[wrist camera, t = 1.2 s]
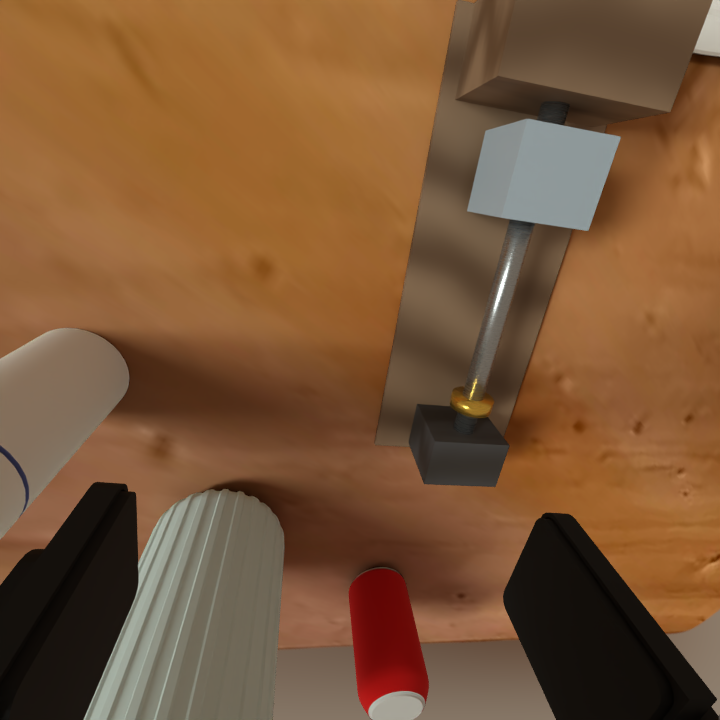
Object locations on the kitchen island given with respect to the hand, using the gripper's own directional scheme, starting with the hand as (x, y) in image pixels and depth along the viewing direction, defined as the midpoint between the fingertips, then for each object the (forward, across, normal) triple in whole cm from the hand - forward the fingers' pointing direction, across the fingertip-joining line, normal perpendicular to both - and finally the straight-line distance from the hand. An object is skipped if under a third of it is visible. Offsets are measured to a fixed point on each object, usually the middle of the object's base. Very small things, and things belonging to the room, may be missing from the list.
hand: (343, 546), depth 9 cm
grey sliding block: (+22, -12, -10) cm, 27 cm away
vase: (+24, +6, +23) cm, 34 cm away
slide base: (+24, -12, -3) cm, 27 cm away
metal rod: (+21, -12, -2) cm, 24 cm away
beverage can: (+24, -11, +31) cm, 40 cm away
